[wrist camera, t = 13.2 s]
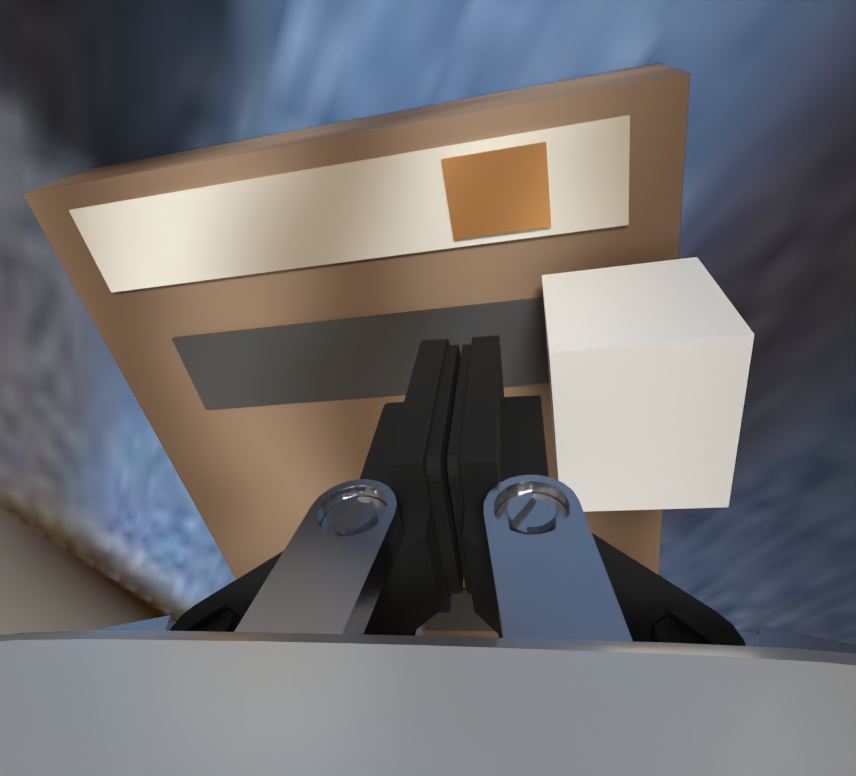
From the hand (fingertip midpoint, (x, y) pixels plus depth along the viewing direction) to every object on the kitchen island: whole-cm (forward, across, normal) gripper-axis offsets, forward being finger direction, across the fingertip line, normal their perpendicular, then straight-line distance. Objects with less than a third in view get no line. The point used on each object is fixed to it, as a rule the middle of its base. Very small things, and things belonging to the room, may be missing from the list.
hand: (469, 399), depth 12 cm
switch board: (+5, +2, +5) cm, 7 cm away
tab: (+1, -3, 0) cm, 4 cm away
